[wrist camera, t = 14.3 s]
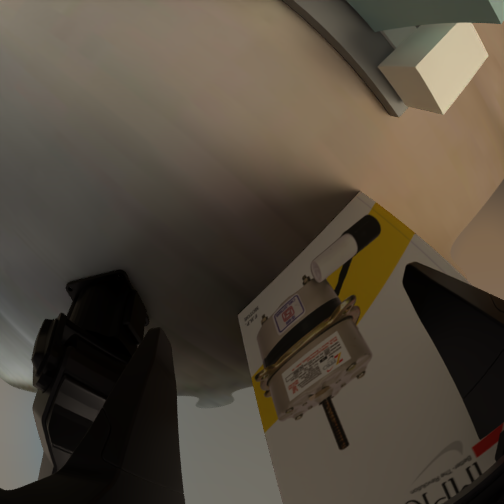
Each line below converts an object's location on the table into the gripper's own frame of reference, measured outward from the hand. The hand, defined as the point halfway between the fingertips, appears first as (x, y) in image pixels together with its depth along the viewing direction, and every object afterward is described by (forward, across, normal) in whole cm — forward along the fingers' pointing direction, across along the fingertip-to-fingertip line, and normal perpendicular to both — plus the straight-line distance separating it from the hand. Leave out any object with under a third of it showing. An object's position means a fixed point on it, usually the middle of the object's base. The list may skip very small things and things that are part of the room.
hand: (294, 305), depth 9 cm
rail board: (+13, -12, -14) cm, 22 cm away
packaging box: (+13, -9, +14) cm, 21 cm away
